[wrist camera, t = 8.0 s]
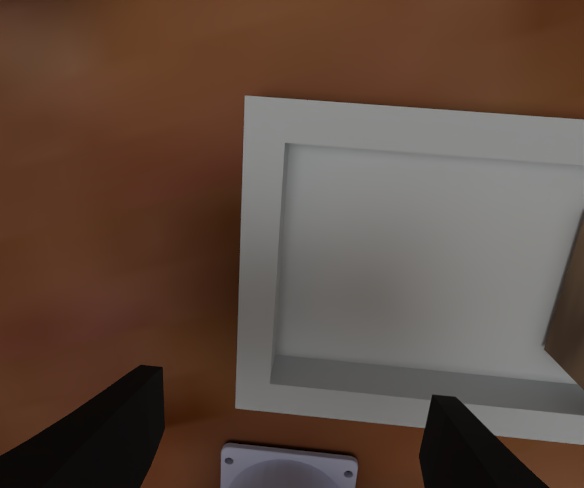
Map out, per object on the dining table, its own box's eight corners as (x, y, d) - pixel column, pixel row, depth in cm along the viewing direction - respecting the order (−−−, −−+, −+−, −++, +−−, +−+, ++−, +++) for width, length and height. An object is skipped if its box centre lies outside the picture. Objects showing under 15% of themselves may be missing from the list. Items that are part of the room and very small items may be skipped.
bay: (706, 416, 21) (767, 463, 18) (246, 370, 22) (235, 408, 19) (838, 141, 17) (946, 145, 14) (256, 99, 18) (245, 95, 15)
